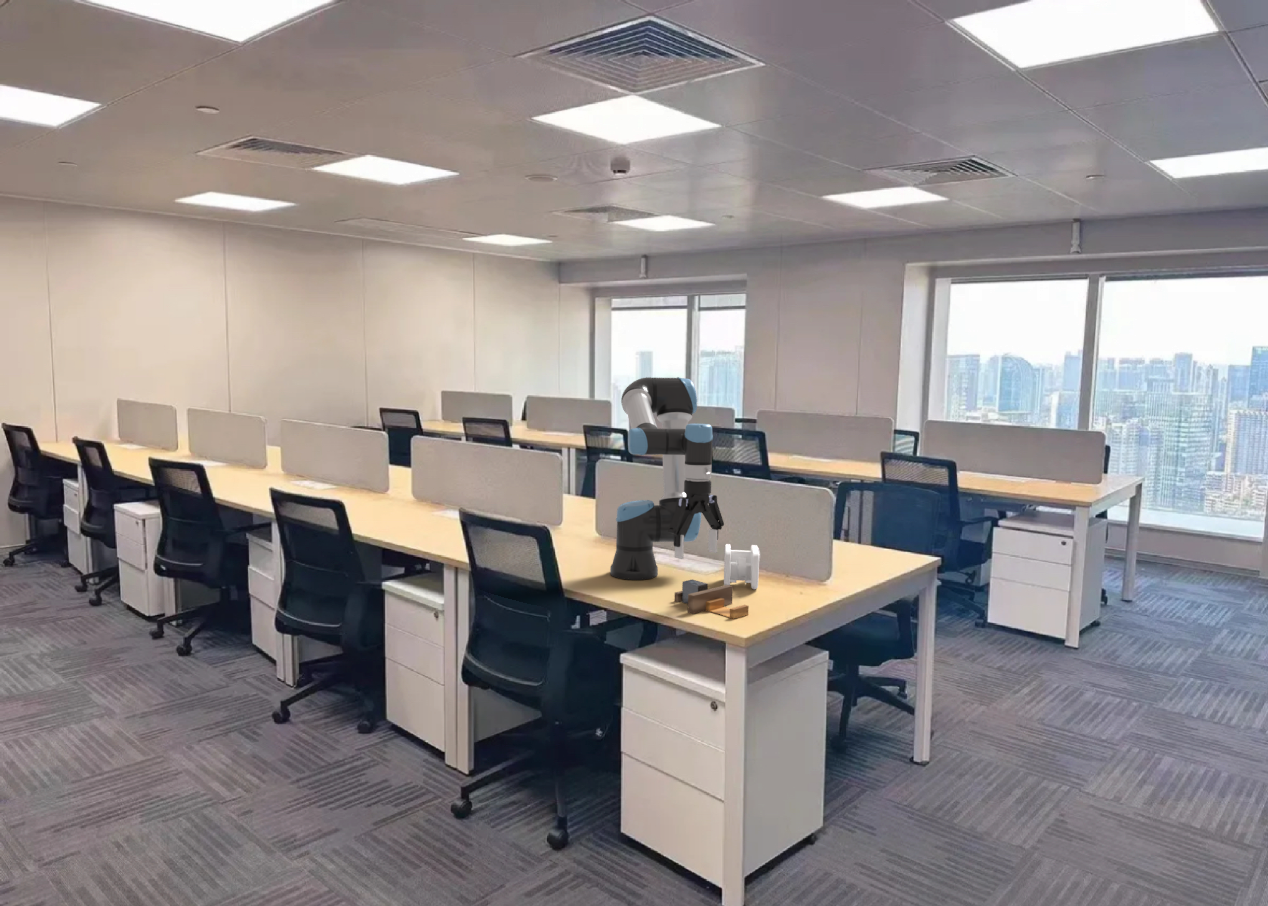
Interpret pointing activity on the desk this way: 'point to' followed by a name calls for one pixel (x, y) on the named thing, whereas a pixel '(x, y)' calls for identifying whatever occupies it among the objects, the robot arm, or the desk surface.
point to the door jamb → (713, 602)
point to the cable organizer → (741, 565)
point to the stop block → (692, 588)
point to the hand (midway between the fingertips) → (696, 555)
